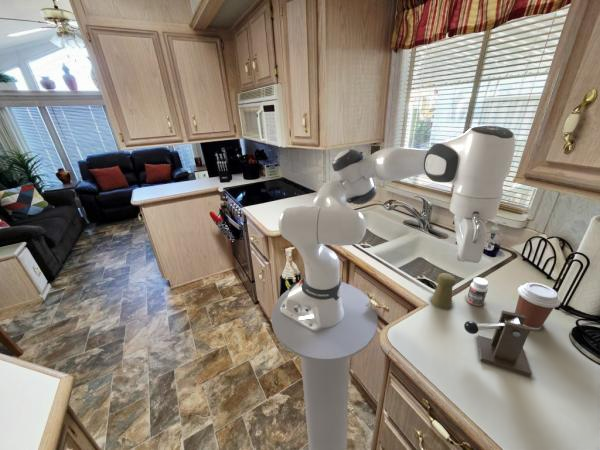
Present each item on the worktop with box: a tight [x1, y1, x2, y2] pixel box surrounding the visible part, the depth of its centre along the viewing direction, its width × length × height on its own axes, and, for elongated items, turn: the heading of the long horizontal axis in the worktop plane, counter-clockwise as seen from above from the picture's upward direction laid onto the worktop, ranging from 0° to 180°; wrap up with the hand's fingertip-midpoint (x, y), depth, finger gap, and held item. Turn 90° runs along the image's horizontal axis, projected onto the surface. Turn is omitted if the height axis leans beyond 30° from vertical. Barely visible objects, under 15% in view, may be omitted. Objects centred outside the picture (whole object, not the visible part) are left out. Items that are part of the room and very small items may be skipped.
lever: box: [463, 318, 521, 335], centre depth 64 cm, size 12×3×3 cm, turn 62°
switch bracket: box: [476, 310, 533, 377], centre depth 63 cm, size 10×8×13 cm
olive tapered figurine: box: [431, 272, 457, 310], centre depth 82 cm, size 6×6×11 cm
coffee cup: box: [514, 281, 562, 331], centre depth 73 cm, size 9×9×12 cm
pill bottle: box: [466, 276, 489, 306], centre depth 82 cm, size 5×5×8 cm
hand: (460, 258), depth 60 cm, fingers closed
